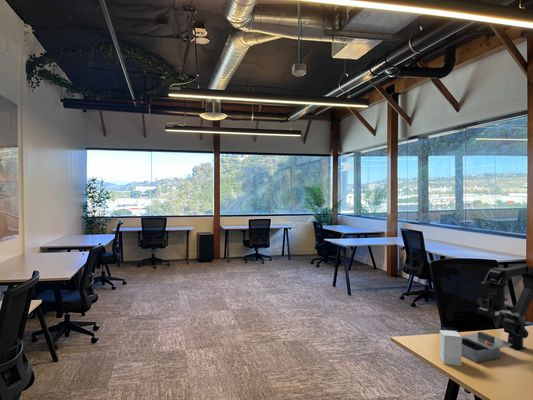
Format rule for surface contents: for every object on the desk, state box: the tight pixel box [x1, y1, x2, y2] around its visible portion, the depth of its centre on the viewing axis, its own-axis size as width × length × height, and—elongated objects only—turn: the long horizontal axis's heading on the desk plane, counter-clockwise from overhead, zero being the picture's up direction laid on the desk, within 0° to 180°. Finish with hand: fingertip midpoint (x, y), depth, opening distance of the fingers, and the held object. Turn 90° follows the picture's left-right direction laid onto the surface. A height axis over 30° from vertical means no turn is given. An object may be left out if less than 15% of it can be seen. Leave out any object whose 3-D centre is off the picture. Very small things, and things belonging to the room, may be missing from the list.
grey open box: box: [462, 338, 501, 364], centre depth 169 cm, size 14×14×5 cm
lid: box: [461, 331, 512, 349], centre depth 171 cm, size 15×15×3 cm
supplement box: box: [438, 329, 463, 367], centre depth 161 cm, size 7×7×13 cm
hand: (497, 327), depth 174 cm, fingers closed
